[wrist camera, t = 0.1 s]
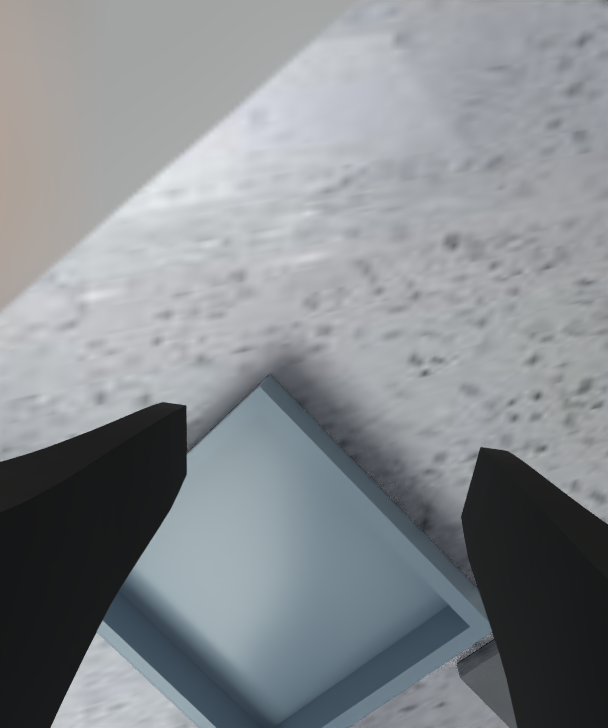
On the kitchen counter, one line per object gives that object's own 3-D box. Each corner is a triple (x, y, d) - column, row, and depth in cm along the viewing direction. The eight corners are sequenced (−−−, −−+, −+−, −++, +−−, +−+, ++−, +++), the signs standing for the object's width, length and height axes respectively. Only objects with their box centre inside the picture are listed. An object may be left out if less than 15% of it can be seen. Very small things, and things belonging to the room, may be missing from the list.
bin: (269, 737, 25) (260, 785, 23) (78, 555, 24) (47, 586, 22) (480, 591, 22) (495, 629, 20) (269, 373, 21) (259, 386, 19)
